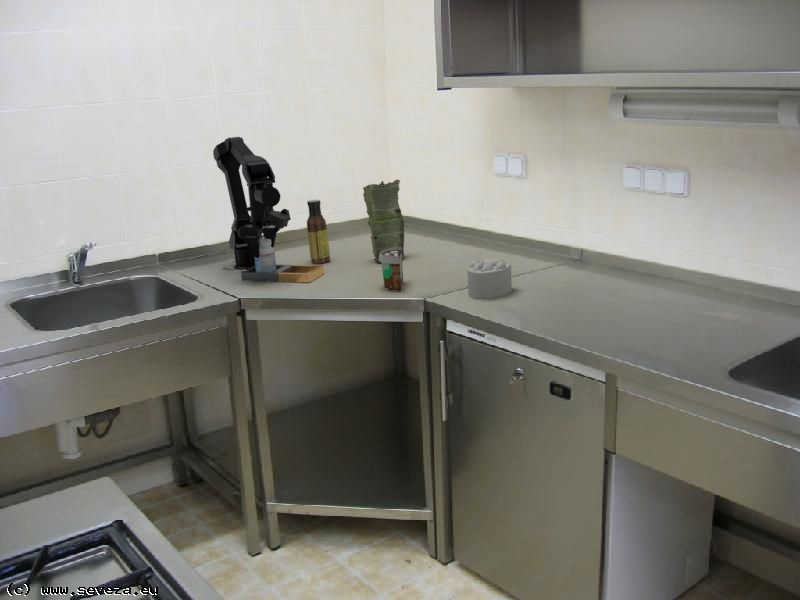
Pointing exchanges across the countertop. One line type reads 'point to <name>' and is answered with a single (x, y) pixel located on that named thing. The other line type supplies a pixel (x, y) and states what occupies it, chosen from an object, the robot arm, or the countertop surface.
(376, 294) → the countertop surface
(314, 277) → the metal frame
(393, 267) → the food container
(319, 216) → the sauce bottle
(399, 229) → the pouch
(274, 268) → the pill bottle
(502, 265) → the lumpy-topped squat cylinder
